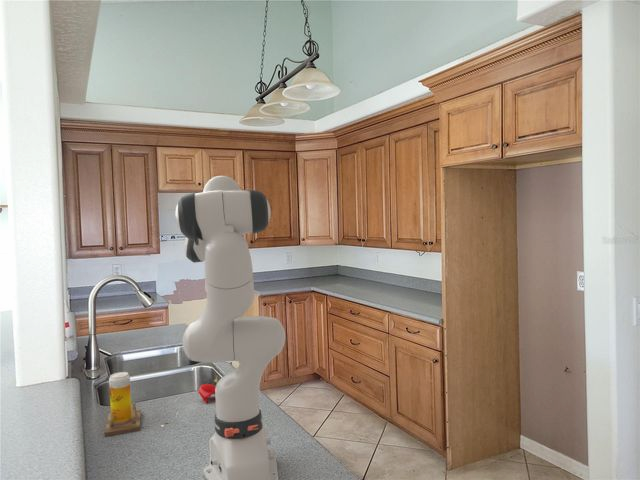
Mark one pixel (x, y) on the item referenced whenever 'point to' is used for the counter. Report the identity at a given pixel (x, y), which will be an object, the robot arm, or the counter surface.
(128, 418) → the glass of beer
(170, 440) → the counter surface
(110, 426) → the standoff plate
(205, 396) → the cap
